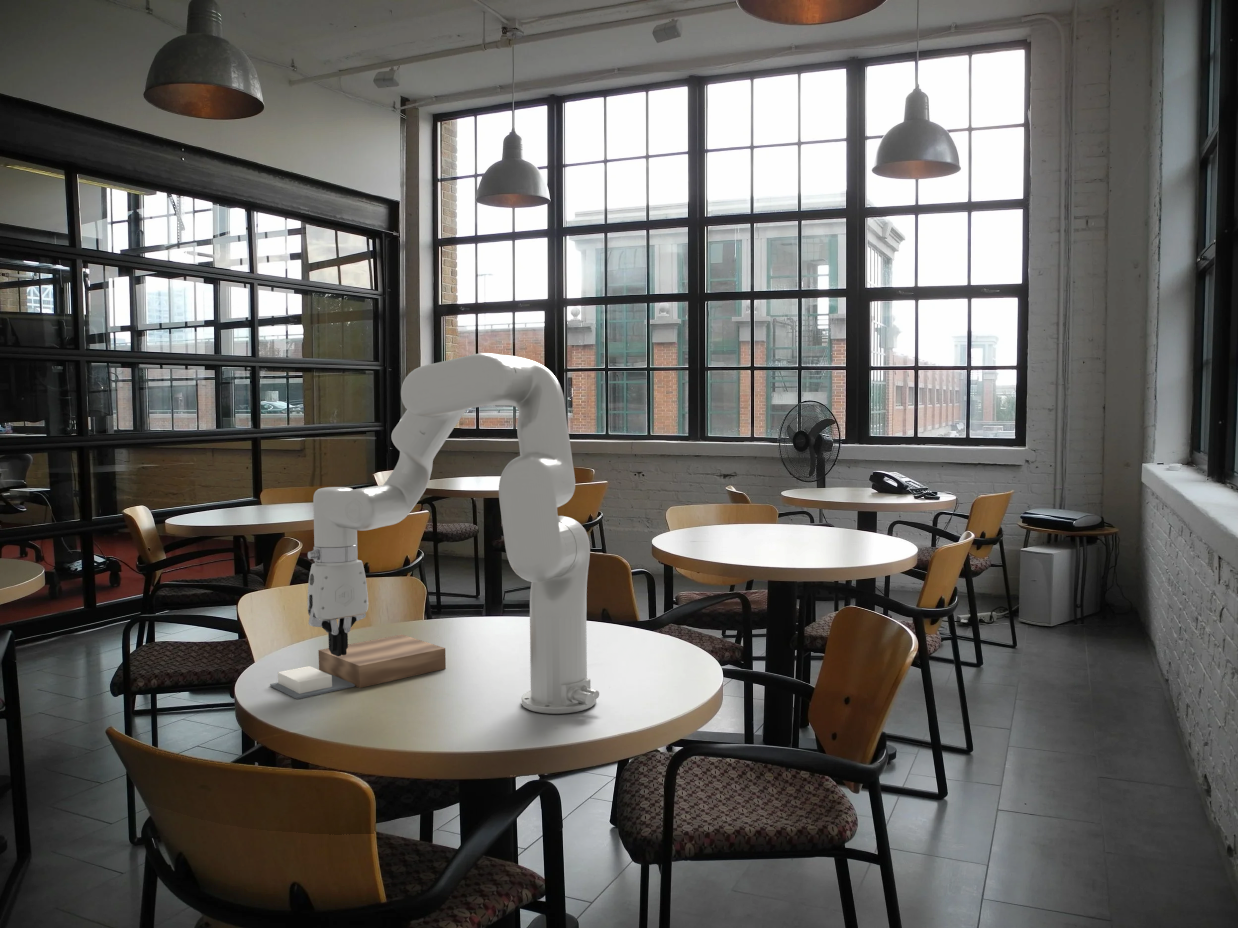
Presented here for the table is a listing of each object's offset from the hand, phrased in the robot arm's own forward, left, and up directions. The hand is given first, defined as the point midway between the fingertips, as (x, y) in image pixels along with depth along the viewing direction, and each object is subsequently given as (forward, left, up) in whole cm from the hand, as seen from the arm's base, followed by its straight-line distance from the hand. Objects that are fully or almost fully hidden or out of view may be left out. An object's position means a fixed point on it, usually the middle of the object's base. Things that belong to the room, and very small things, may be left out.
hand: (338, 653), depth 173 cm
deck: (+1, -9, -5) cm, 11 cm away
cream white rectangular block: (0, +6, -3) cm, 7 cm away
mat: (0, +5, -5) cm, 7 cm away
